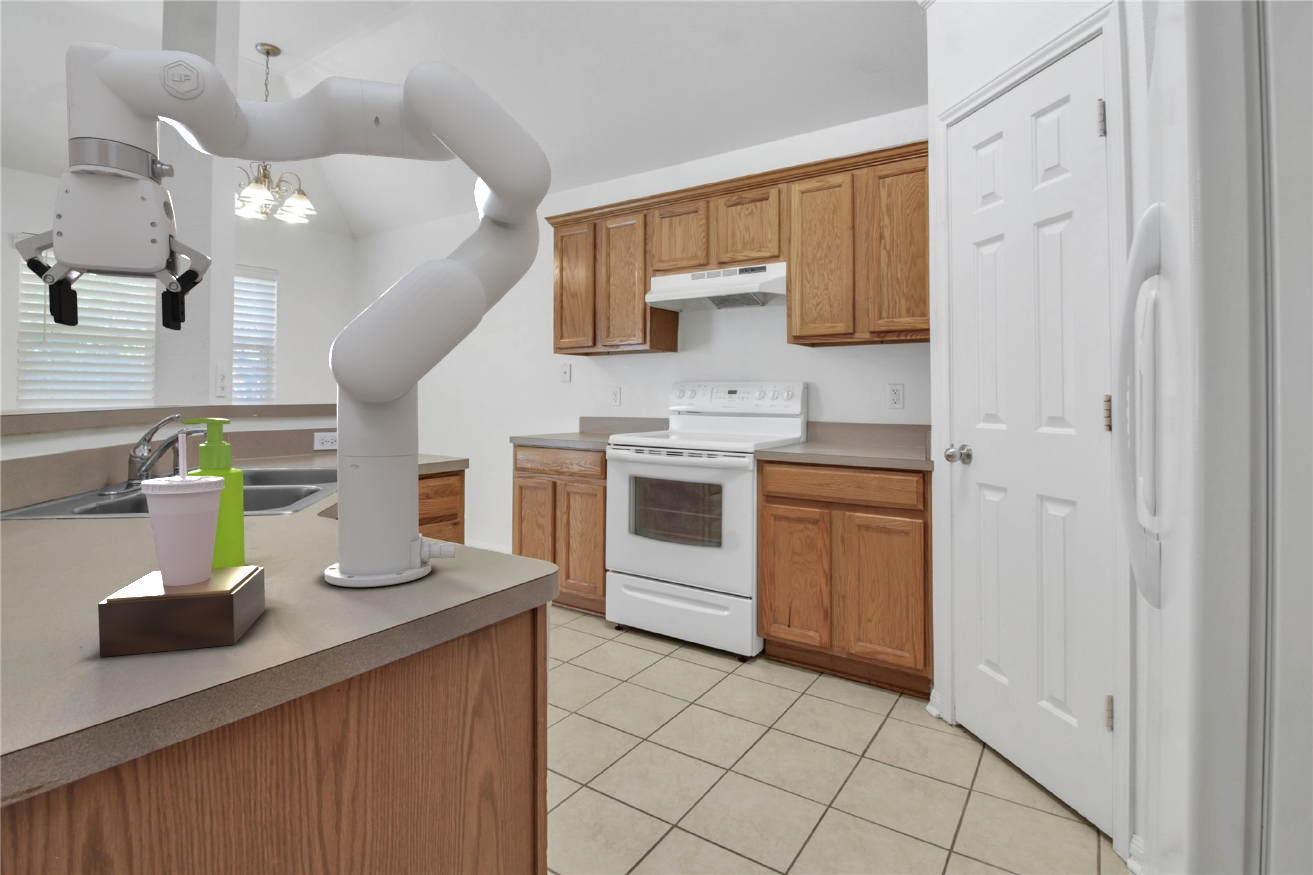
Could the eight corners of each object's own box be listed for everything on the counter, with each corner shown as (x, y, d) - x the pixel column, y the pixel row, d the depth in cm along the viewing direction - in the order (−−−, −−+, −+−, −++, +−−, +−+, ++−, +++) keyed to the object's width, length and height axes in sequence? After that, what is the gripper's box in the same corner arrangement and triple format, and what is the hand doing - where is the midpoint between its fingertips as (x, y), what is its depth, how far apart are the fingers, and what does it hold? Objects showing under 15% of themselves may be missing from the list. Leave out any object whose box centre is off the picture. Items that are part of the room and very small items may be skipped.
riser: (265, 610, 67) (264, 564, 66) (234, 644, 57) (233, 590, 57) (152, 619, 64) (150, 570, 63) (99, 657, 54) (97, 600, 54)
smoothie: (220, 568, 65) (217, 432, 64) (234, 581, 60) (230, 434, 59) (139, 579, 60) (135, 433, 59) (148, 594, 55) (143, 436, 55)
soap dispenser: (209, 564, 86) (206, 417, 85) (255, 566, 85) (252, 418, 84) (170, 575, 80) (166, 418, 79) (219, 577, 79) (216, 418, 78)
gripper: (219, 190, 75) (222, 334, 76) (37, 171, 70) (43, 327, 71) (195, 167, 68) (199, 326, 69) (-10, 145, 63) (-3, 318, 63)
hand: (120, 326), depth 70 cm, fingers open, 9 cm apart
